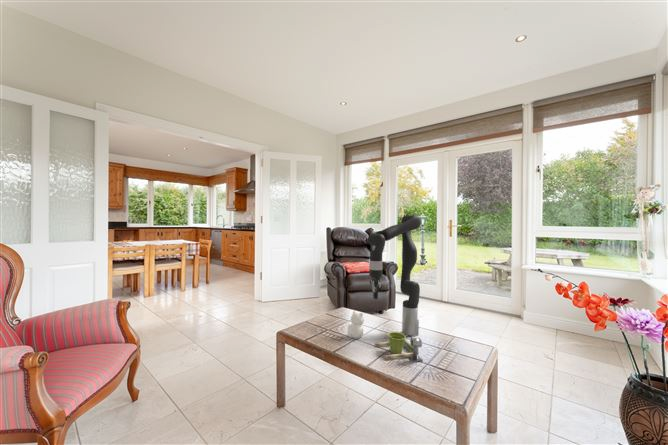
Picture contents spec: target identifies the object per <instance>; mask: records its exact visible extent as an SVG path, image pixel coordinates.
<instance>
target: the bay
mask: <svg viewBox="0 0 668 445" xmlns="http://www.w3.org/2000/svg"><path fill="white" fill-rule="evenodd" d="M374 347H375V348H383V347H384V348H385V347H390V341H384V342H375V343H374ZM403 347H405V348H406V349H407V351H409V352H406V353H404V352H403V353H401V354H394V353H392V354H386V355H385V360H386V361H391V360H400V359H410V358H409V356H413V347H412V346H411V344H410V342H409V341H408V340H406V339H405V340H404V344H403ZM418 354H419V350H418Z"/></svg>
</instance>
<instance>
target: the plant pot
mask: <svg viewBox="0 0 668 445" xmlns="http://www.w3.org/2000/svg"><path fill="white" fill-rule="evenodd" d="M387 337H388V339H389V341H388V342H390V346H389V349H390V352H391V353H392V354H403V348H404V346H403V344H404V340H406V335H404V334H402V332H398V331H393V332H389V333H387Z"/></svg>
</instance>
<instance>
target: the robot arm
mask: <svg viewBox="0 0 668 445" xmlns="http://www.w3.org/2000/svg"><path fill="white" fill-rule="evenodd" d="M421 224H422V220H421V218H420V216H418V215H416V214H407V215H403V216H402V217H401V220H400V223H397V224H395V225H394V224H393V225H390V226H388V227H386V228H384V229H382V230H379V231H375V232H372V233H371V234H369V235H368V237H367V243H368V244H369V246H372V247H373V246H374V249H373V250H371V251H370V252H369V263H368V265H369V266H368V267H369V268H368V269H369V270H368V274H369V275H368V276H369V277H370V278H371V280H369V285H370V289H371V290H372V292H373V293H372V296H373V297H372V298H373V299H374V300H378V298H379V293H381V290H382V287H383V284H382V283H381V278H382V277H383V269H384V268H383V267H384V266H383V265H384V264H383V253H384V249H385V246H386V242H387V241H390V240H392V239H394V238H396V237H398V236H399V235H401V238H402V239H401V243H402V244H401V245H402V248H401V274H400V275H401V277H400V292H401V293H402V294H403V295H407V296H408V299H405V300H403V301H402V312H401V314H402V319H401V323H402V325H401V333H402V334H404V335H405V336H407V335H413V337H416V336H419V335H420V334H419V330H420V329H419V328H420V327H419V325H420V320H419V318H418V316H419V315H418V314H419V313H418V311H419V310H418V309H419V308H418V307H419V304H420V303H419V302H420V292H421V290H420V287H421V286H420V284H419V283H418V282H417V281H412V280H411V273H412V270H413V269H414V267H415V266H416V263H417V261H418V250H417V247H416V245H415V242H414V241H413V238H412V231H414V230H417V229H419V228H420V226H421Z"/></svg>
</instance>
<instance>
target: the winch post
mask: <svg viewBox="0 0 668 445" xmlns="http://www.w3.org/2000/svg"><path fill="white" fill-rule="evenodd" d="M407 337H408V338H410V339H409V341H410V342H409V343H410V344H411V346H412V347H413V356H409V358H408V359H410V360H411V361H412V362H413V363H420V362H424V360H423V358H421V357H420V356H419V353H418V351H419V348H422V346H423V341H422V339H421V338H420V337H414V336H413V335H407Z"/></svg>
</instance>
